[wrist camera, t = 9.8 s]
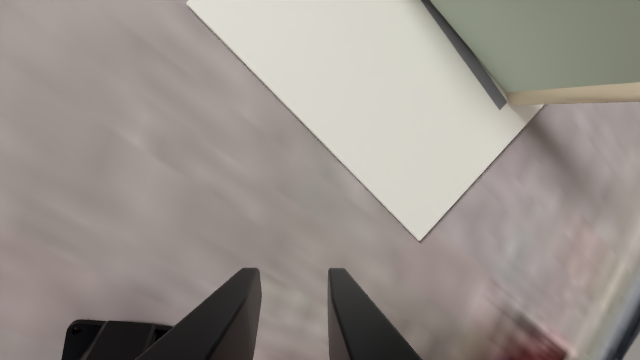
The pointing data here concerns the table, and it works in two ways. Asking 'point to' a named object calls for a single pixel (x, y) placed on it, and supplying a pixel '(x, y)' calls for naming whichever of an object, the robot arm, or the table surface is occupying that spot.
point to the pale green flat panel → (554, 47)
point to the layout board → (378, 92)
